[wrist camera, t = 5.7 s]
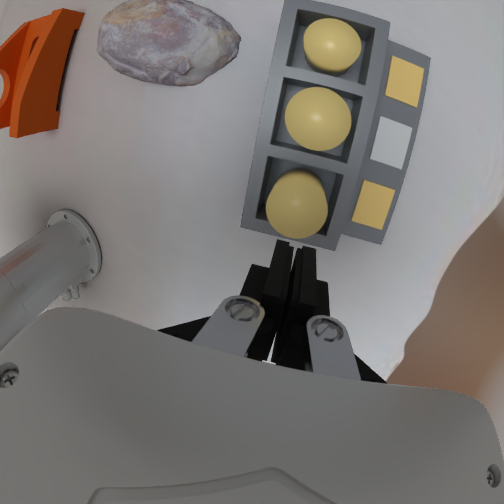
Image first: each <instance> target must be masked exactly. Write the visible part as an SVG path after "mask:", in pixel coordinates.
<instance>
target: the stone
mask: <svg viewBox="0 0 504 504" xmlns="http://www.w3.org/2000/svg"><path fill="white" fill-rule="evenodd" d="M240 41H241V37H240V35H239V34H238V33H237V32H236V31H235V30H234V29H233V27H232V26H231V24H230V23H229V22H227V21H225V20H224V19H223V18H222V17H220V16H219V15H216V14H214V13H213V12H212V11H211V10H209V9H207V8H205V7H201V6H199V5H196V4H194V3H192V2H191V1H187V0H128V1H126V2H124V3H122V4H120V5H119V6H117V7H116V8H114V9H113V10H112V11H110V12H109V13H108V14H107V15H106V16H105V17H104V18H103V20H102V23H101V25H100V28H99V34H98V47H97V51H98V53H99V55H100V56H101V57H102V58H104V59H105V60H106V61H107V62H108V63H109V65H111V66H112V68H113V69H114V70H116V71H118V72H120V73H121V74H124V75H127V76H129V77H132V78H135V79H138V80H141V81H146V82H152V83H158V84H164V85H176V86H193V85H196V84H199V83H201V82H202V81H204V80H205V79H206V78H207V77H208V76H210V75H212V74H214V73H215V72H217V71H218V70H219V69H221V68H223V67H224V66H225V65H226V64H227V63H229V62H230V61H231V60H232V59H234V58H235V57H237V54H238V50H239V43H240Z"/></svg>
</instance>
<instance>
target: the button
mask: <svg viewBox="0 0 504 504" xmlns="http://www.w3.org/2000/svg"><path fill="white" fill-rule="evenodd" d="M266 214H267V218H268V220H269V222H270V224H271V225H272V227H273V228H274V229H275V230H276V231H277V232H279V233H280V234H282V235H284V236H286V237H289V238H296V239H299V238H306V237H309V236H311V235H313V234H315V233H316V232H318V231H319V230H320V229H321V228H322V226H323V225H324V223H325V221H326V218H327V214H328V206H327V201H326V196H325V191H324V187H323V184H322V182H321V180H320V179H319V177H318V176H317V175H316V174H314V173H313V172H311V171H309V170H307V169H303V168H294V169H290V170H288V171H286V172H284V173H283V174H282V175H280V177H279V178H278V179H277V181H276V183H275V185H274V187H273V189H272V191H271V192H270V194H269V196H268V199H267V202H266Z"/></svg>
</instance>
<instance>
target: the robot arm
mask: <svg viewBox="0 0 504 504" xmlns="http://www.w3.org/2000/svg"><path fill="white" fill-rule="evenodd" d="M289 243H290V242H286V241H282V240H278V239H277V242H276V246H275V250H274V253H273V257H272V261H271V264H270V268H267V267H263V266H259V265H255V264H252V265H251V267H250V270H249V273H248V275H247V278H246V280H245V283H244V285H243V288H242V290H241V293H240V295H239V296H231V297H229V298H226V299H225V300H224V301H223V302H222V303H221V304H220V305H219V307H218V308H217V309H216V311H215V312H214V313H213V315H212V316H209V317H206V318H202V319H198V320H195V321H191V322H187V323H183V324H179V325H176V326H172V327H168V328H164V329H160V330H157V331H156V330H153V329H150V328H148V327H145V326H142V325H139V324H136V323H133V322H130V321H127V320H124V319H122V318H119V317H116V316H113V315H110V314H106V313H103V312H99V311H95V310H90V309H85V308H73V307H62V308H55V309H51V310H48V311H46V312H44V313H42V314H41V315H39V314H40V313H41V312H42V311H44V310H45V309H46V308H47V307H48V306H49V305H50V304H51V303H52V302H53V301H54V300H55V299H56V298H57V297H59V296H60V295H61V294H62V297H63V300H65V301H68V300H70V299H72V297H73V298H74V299H78V298H79V297H80V295H79V291H78V288H77V287H78V285H79V284H80V283H81V282H89V281H91V280H92V279H93V278H94V277H95V276H96V275H97V274H98V272H99V271H100V267H101V252H100V248H99V244H98V242H97V239H96V237H95V235H94V233H93V231H92V229H91V228H90V226H89V225H88V224H87V223H86V221H85V220H84V219H83V218H82V217H81V216H79V215H78V214H77V213H75V212H73V211H71V210H66V209H62V210H59V211H57V212H55V213H54V214H52V215H51V217H50V218H49V220H48V223H47V228H46V229H45V230H43V231H42V232H40V233H38V234H37V235H35V236H33V237H32V238H30V239H29V240H27V241H26V242H24V243H23V244H21V245H19V246H18V247H16V248H15V249H13V250H12V251H10V252H9V253H8V254H6V255H5V256H3V257H2V258H0V504H504V460H503V456H502V451H501V447H500V443H499V439H498V436H497V433H496V429H495V426H494V424H493V421H492V419H491V417H490V414H489V412H488V411H487V409H486V408H485V406H484V405H483V404H481V403H480V402H478V401H477V400H475V399H474V398H471V397H469V396H467V395H465V394H461V393H458V392H454V391H449V390H443V389H434V388H424V387H413V386H403V385H393V384H387V383H386V382H385V381H384V380H383V379H382V378H381V377H380V376H379V375H378V374H376V373H375V372H374V371H373V370H372V369H371V368H370V367H369V366H368V365H366V364H365V363H364V362H363V361H362V360H361V359H360V358H359V357H357V356H356V355H355V354H354V352H353V349H352V345H351V342H350V338H349V335H348V332H347V330H346V328H345V326H344V325H343V324H342V323H341V322H340V321H338V320H337V319H335V318H332V317H330V309H329V293H328V283H327V282H324V281H320V280H317V278H316V249H314V248H310V247H306V246H303V248H302V249H300V248H297V251H296V255H295V258H294V262H293V265H292V269H291V264H292V257H293V249H294V247H292V246H289ZM290 271H291V272H290ZM38 315H39V316H38ZM37 316H38V317H37ZM275 334H276V337H275ZM274 337H275V342H274V348H273V353H272V358H271V362H273V363H276V365H274V364H270V363H265V362H262V360H265V361H267V358H268V355H269V352H270V349H271V346H272V343H273V340H274Z"/></svg>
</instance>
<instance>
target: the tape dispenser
mask: <svg viewBox="0 0 504 504" xmlns="http://www.w3.org/2000/svg"><path fill="white" fill-rule="evenodd" d="M84 14H85V13H81V12H77V11H73V10H68V9H64V8H62V9H58V10H55V11H53V12H52V14H51V15H48V16H44V17H41V18H38V19H35V20H32V21H29V22H26V23H24V24H23V25H21V26H20V27H19V28H18V29H17V30H16V31H15V32H14V33H13V34H12V35H11V36H10V37H9V38H8V39H7V40H6V41H5V42H4V43H3V44H2V45H1V46H0V74H1V75H2V77H3V80H4V90H3V94H2V97H1V99H0V129H1V128H5V127H9V126H10V135H9V136H10V137H15V138H19V137H23V136H27V135H31V134H35V133H39V132H44V131H48V130H53V129H58V122H59V115H60V111H56V106H57V100H58V94H59V89H60V83H61V79H62V74H63V69H64V65H65V61H66V57H67V53H68V50H69V46H70V43H71V39H72V36H73V33H74V30H79V28H80V25H81V22H82V19H83V16H84Z"/></svg>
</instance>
